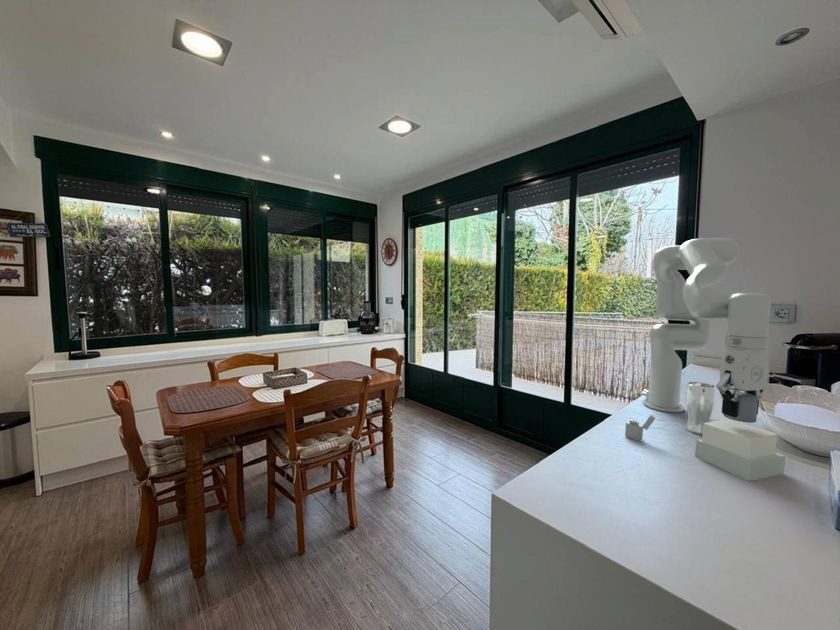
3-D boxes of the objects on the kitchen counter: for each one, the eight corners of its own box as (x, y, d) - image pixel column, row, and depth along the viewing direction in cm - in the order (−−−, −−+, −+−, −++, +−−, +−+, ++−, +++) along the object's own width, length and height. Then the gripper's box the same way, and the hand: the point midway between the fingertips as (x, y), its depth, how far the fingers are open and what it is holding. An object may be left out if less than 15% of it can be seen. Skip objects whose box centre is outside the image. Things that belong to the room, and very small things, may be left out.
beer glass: (701, 427, 110) (705, 381, 108) (718, 436, 103) (722, 388, 102) (678, 426, 110) (681, 381, 109) (693, 435, 103) (697, 387, 102)
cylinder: (717, 415, 87) (719, 392, 87) (733, 412, 89) (735, 390, 88) (746, 423, 81) (747, 399, 81) (762, 421, 83) (764, 397, 83)
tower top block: (701, 441, 89) (703, 423, 89) (727, 436, 92) (728, 418, 92) (748, 460, 80) (750, 439, 79) (775, 453, 83) (777, 434, 82)
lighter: (624, 436, 102) (626, 410, 101) (626, 435, 103) (628, 409, 103) (653, 444, 97) (654, 417, 96) (654, 442, 98) (656, 415, 98)
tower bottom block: (695, 457, 91) (696, 439, 90) (727, 452, 94) (728, 434, 93) (748, 482, 79) (750, 462, 79) (783, 475, 82) (785, 455, 82)
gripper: (737, 346, 78) (730, 423, 79) (789, 344, 82) (782, 416, 84) (702, 341, 85) (697, 411, 87) (752, 339, 89) (747, 406, 91)
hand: (739, 413), depth 85 cm, fingers closed on cylinder, 6 cm apart
